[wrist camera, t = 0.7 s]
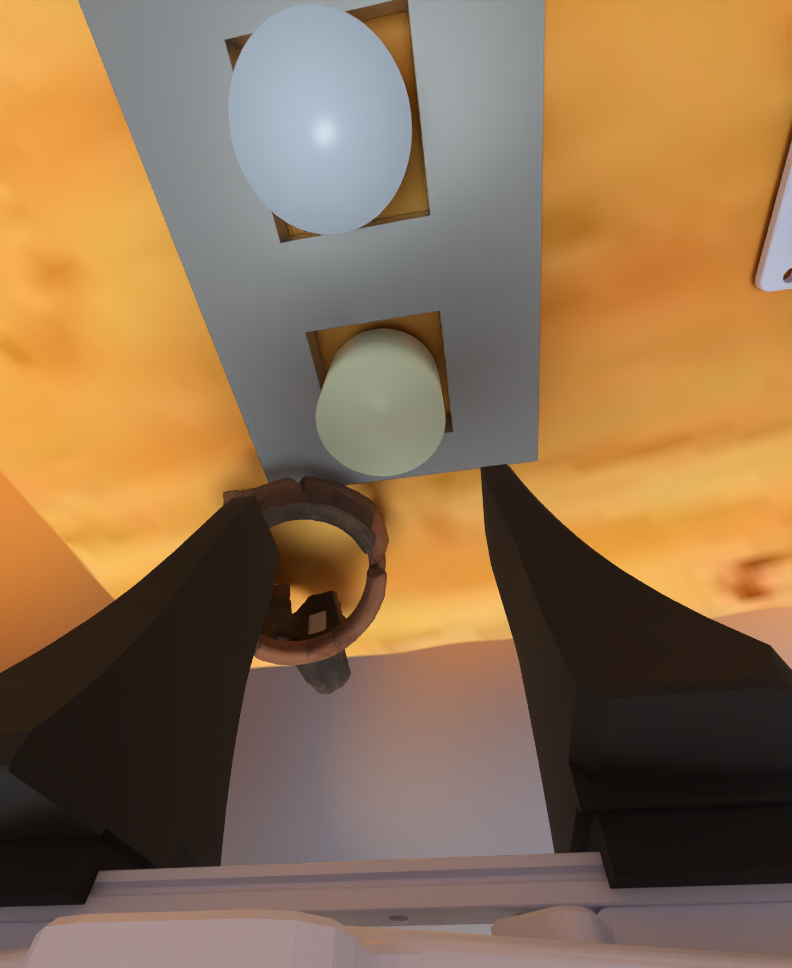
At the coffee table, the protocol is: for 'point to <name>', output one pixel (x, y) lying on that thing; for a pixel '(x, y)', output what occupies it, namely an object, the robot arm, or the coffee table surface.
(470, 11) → the grey slotted board
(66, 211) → the coffee table surface
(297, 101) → the slate button
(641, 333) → the coffee table surface
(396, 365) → the sage button
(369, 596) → the brown curved piece
